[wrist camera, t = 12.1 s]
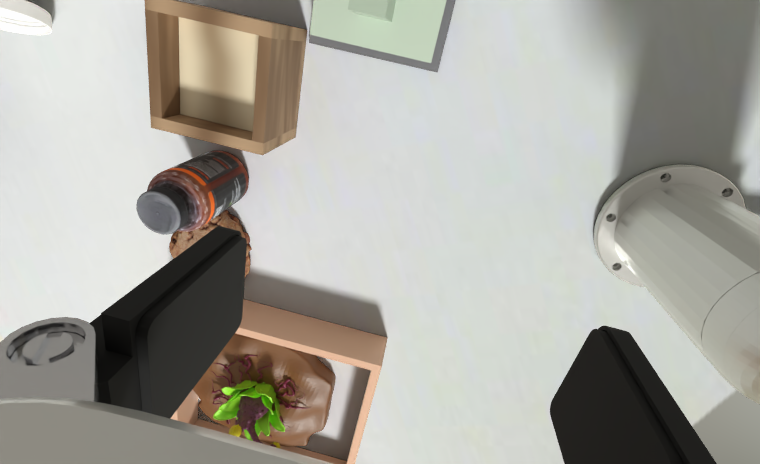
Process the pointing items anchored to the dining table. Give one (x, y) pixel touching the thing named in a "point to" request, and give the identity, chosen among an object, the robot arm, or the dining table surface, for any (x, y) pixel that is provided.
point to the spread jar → (24, 18)
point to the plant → (267, 392)
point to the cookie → (187, 239)
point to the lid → (381, 24)
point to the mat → (395, 58)
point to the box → (223, 75)
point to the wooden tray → (312, 340)
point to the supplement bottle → (192, 193)
